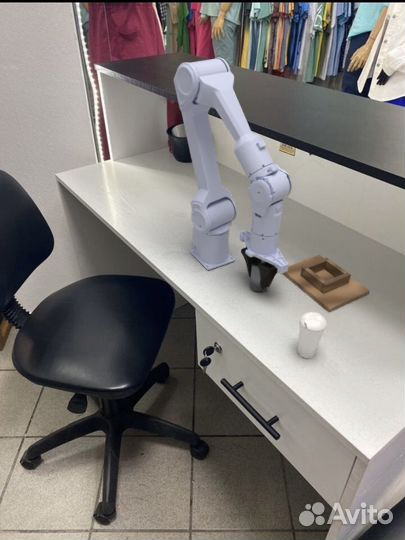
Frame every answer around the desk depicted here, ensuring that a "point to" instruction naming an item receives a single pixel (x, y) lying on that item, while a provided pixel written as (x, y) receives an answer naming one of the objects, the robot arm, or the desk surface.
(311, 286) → the socket board
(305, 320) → the milkshake
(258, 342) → the desk surface
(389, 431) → the desk surface
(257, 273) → the pin
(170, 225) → the desk surface
